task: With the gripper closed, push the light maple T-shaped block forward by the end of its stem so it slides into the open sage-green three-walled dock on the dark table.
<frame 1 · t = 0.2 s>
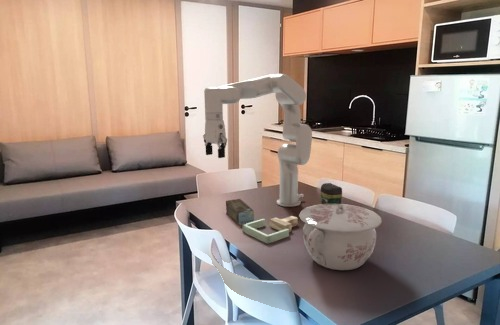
hand: (215, 156, 158), 31 cm above the table, tool pointing down, fingers open, 9 cm apart
chamber pot: (336, 261, 127), on the table
coffee jar: (330, 225, 161), on the table
t block: (285, 227, 159), on the table
dock: (265, 233, 152), on the table
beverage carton: (239, 217, 173), on the table
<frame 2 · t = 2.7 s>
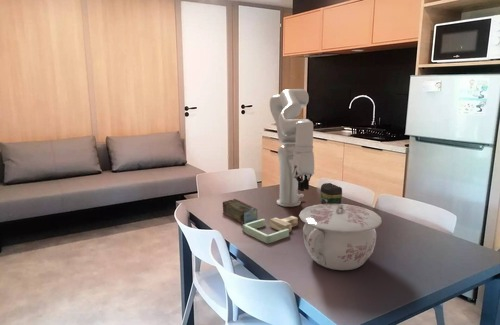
hand: (303, 189, 162), 15 cm above the table, tool pointing down, fingers closed
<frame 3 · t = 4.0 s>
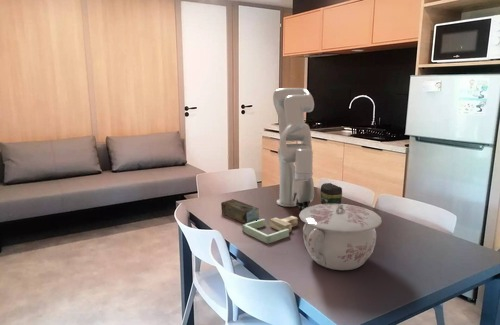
hand: (303, 215, 164), 3 cm above the table, tool pointing down, fingers closed
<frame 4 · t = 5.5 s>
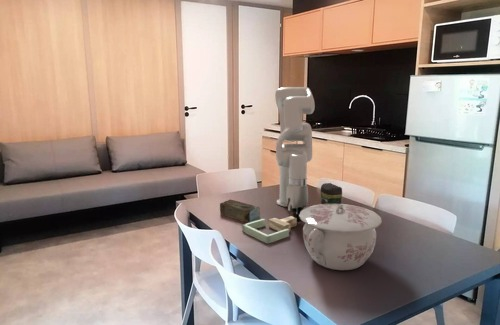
hand: (297, 221, 163), 1 cm above the table, tool pointing down, fingers closed
t block: (284, 227, 159), on the table, touching gripper
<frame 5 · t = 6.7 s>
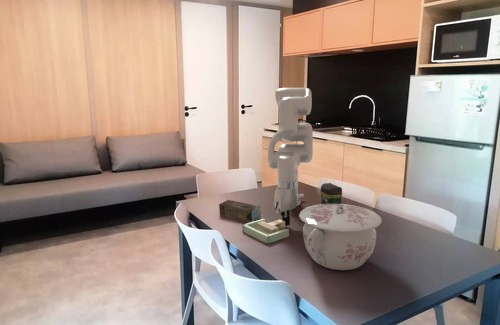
hand: (285, 224, 159), 1 cm above the table, tool pointing down, fingers closed
t block: (272, 231, 154), on the table, touching gripper
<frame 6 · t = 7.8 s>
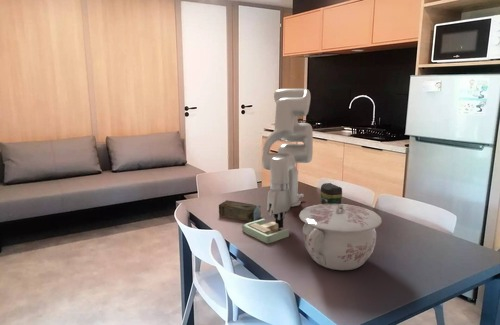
hand: (279, 226, 156), 1 cm above the table, tool pointing down, fingers closed
t block: (265, 233, 152), on the table, touching dock, gripper
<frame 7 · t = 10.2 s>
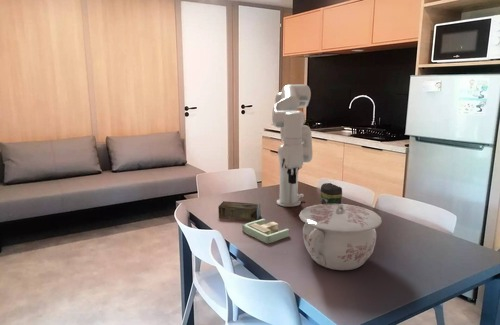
hand: (292, 183, 158), 19 cm above the table, tool pointing down, fingers closed
t block: (265, 233, 152), on the table
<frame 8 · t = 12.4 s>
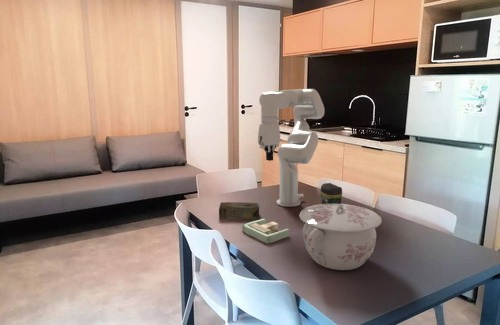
hand: (269, 160, 168), 27 cm above the table, tool pointing down, fingers closed
at the end: t block inside the target area (0.7 cm from its centre), on the table; t block tilted 0° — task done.
